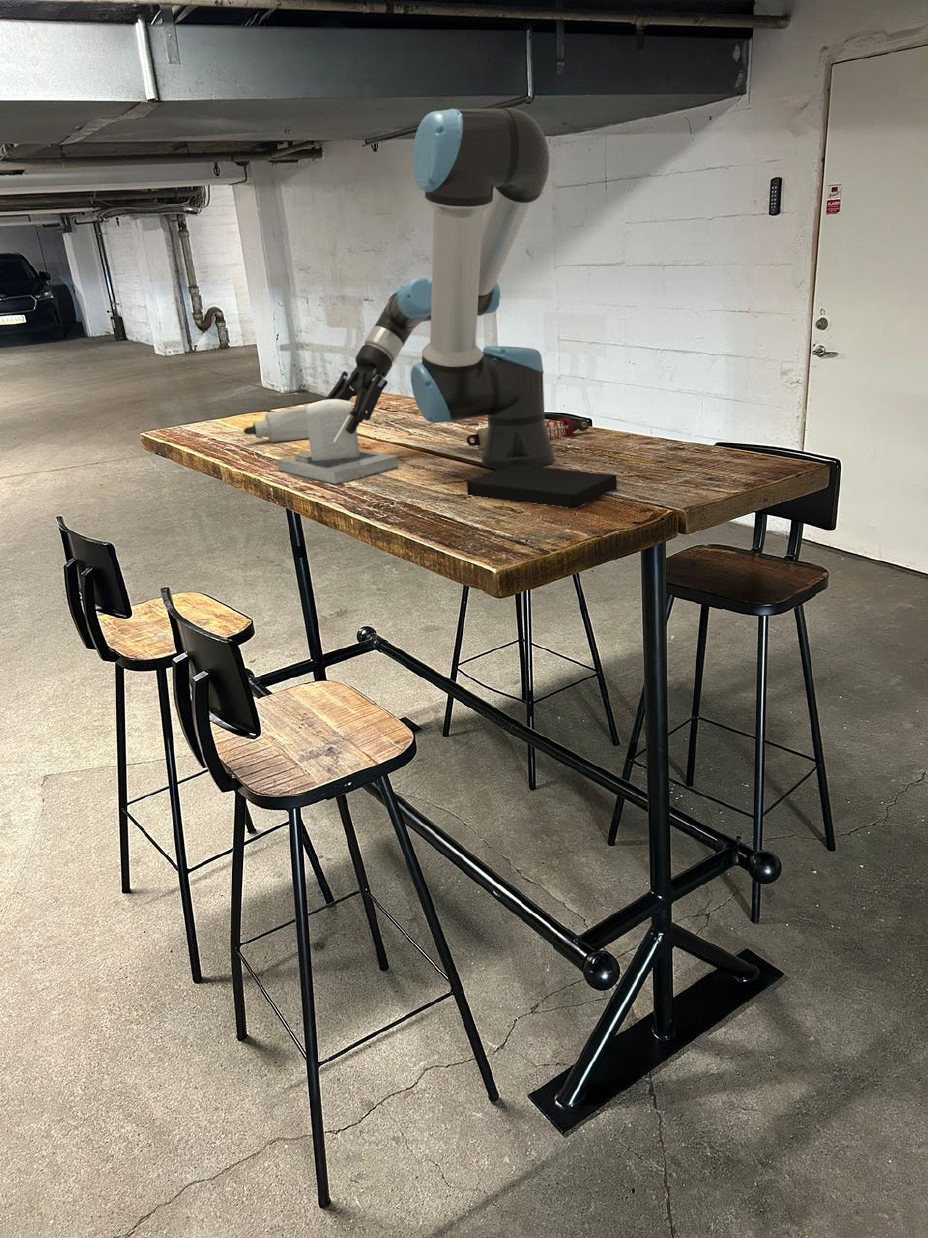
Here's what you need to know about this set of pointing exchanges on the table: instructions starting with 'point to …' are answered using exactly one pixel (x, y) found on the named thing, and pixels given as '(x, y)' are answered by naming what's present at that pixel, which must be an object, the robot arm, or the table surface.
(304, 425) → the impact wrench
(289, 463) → the plate
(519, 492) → the external hard drive
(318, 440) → the photo printer
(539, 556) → the table surface
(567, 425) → the shock absorber
